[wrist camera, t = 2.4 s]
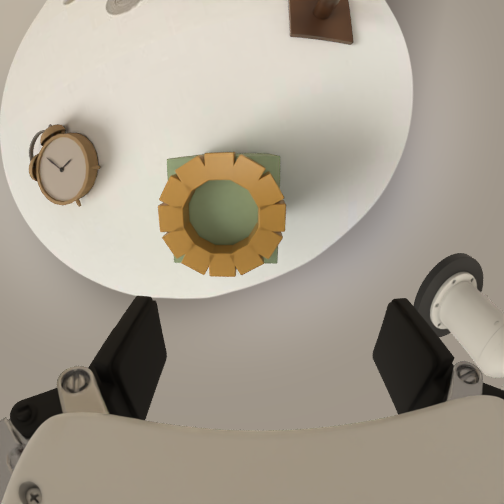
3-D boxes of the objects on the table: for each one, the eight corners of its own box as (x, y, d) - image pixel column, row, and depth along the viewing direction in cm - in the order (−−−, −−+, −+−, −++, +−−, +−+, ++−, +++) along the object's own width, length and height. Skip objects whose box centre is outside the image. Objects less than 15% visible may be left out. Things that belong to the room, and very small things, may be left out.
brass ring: (284, 152, 20) (287, 152, 18) (280, 266, 24) (282, 277, 22) (163, 155, 20) (154, 156, 18) (171, 265, 24) (165, 275, 22)
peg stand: (345, 1, 25) (368, -30, 16) (350, 44, 28) (378, 19, 19) (287, -8, 25) (297, -44, 16) (290, 36, 28) (301, 4, 19)
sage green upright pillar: (268, 153, 35) (280, 156, 20) (267, 217, 38) (277, 263, 23) (202, 154, 35) (166, 159, 20) (204, 217, 38) (174, 262, 23)
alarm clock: (72, 219, 35) (12, 173, 29) (84, 209, 40) (27, 166, 34) (102, 158, 32) (36, 112, 26) (114, 153, 36) (52, 110, 30)
